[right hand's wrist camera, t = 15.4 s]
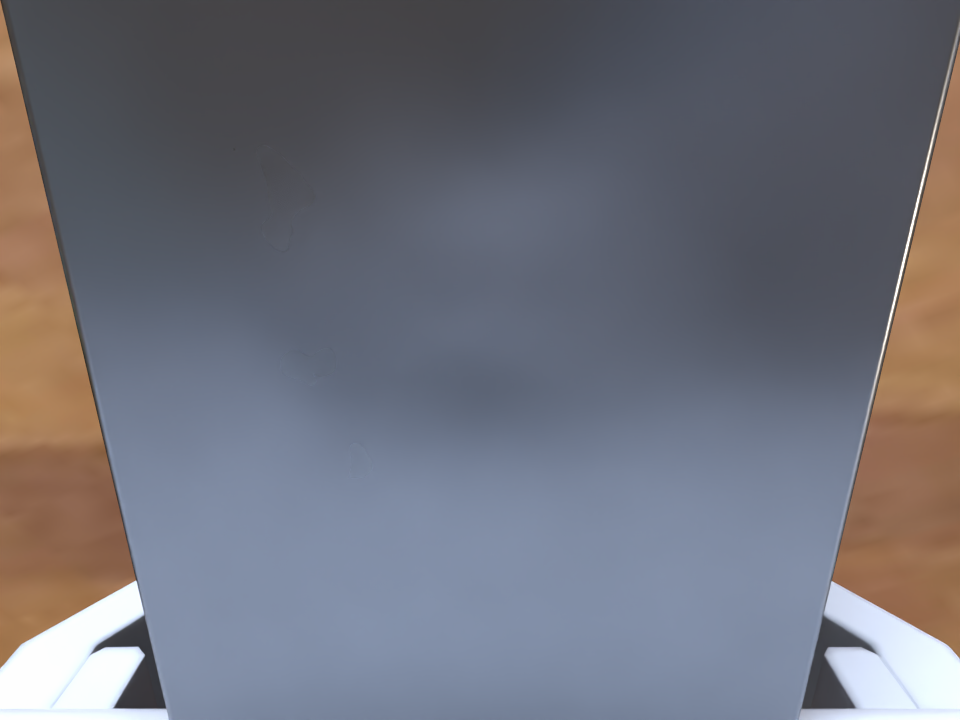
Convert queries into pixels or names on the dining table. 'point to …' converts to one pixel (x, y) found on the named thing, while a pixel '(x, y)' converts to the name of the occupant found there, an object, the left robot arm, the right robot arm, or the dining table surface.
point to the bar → (484, 334)
